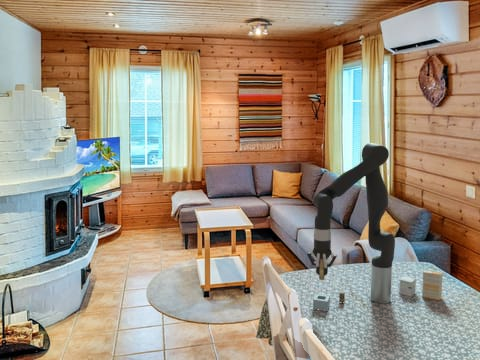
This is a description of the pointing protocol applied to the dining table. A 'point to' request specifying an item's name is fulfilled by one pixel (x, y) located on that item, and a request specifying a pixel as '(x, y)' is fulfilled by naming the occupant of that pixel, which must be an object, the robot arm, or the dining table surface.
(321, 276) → the long dowel
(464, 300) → the dining table surface
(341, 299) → the short dowel
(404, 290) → the skincare box
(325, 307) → the hole block
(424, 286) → the supplement box
